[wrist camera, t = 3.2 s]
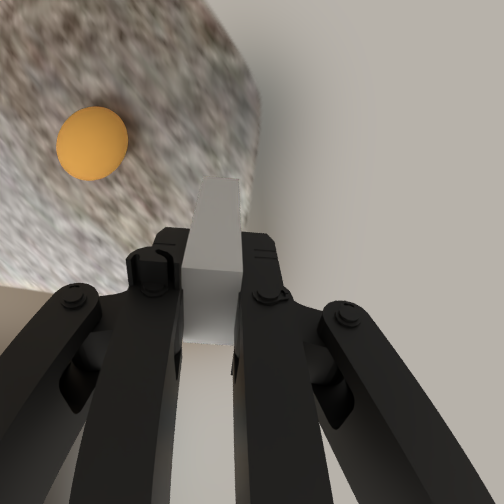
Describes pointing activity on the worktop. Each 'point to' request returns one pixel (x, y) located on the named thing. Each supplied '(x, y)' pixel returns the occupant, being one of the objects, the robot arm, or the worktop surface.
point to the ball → (92, 143)
